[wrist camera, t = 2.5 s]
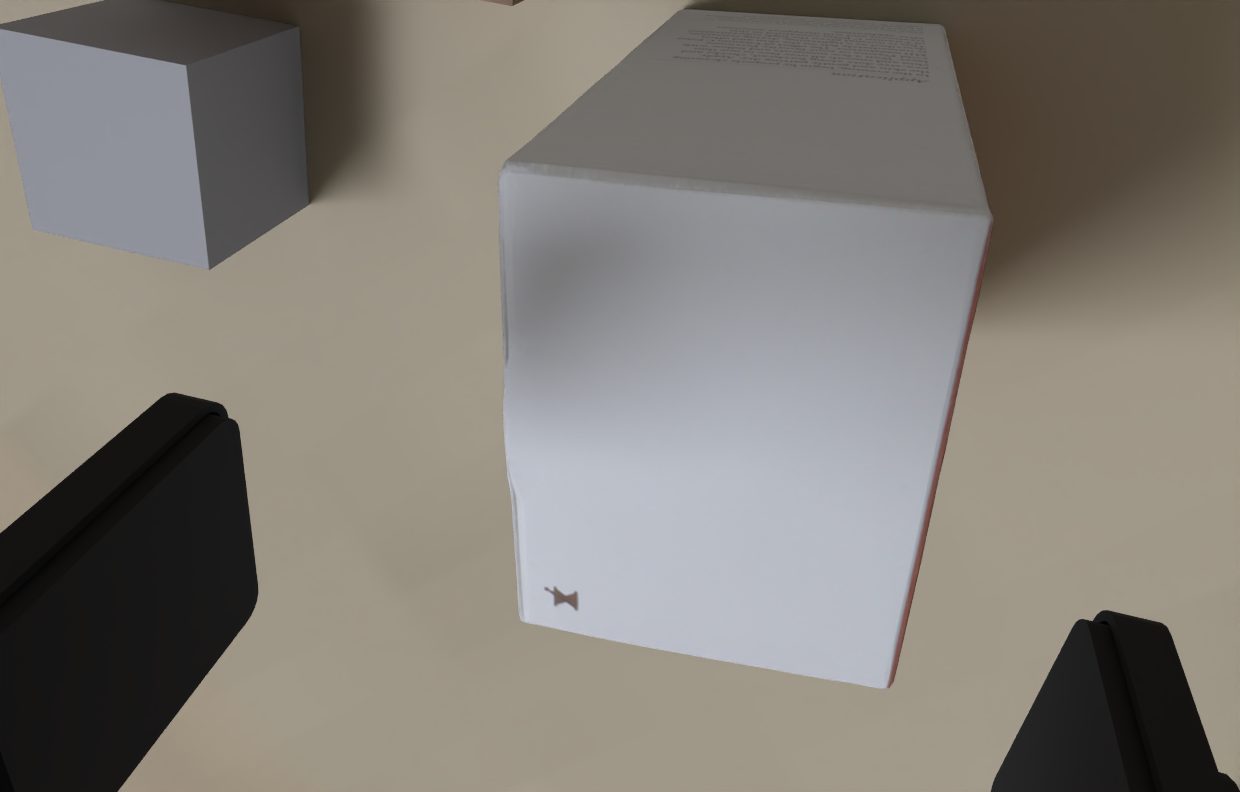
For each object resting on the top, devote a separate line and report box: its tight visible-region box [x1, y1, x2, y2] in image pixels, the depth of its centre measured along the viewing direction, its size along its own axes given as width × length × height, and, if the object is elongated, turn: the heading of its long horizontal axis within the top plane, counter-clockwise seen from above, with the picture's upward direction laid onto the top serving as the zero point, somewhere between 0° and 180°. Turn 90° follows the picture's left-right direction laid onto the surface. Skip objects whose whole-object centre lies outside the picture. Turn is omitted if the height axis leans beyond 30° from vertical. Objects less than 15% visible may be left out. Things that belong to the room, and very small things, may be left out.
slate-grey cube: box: [0, 0, 309, 270], centre depth 26 cm, size 5×5×5 cm
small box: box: [498, 9, 994, 689], centre depth 19 cm, size 8×6×13 cm
